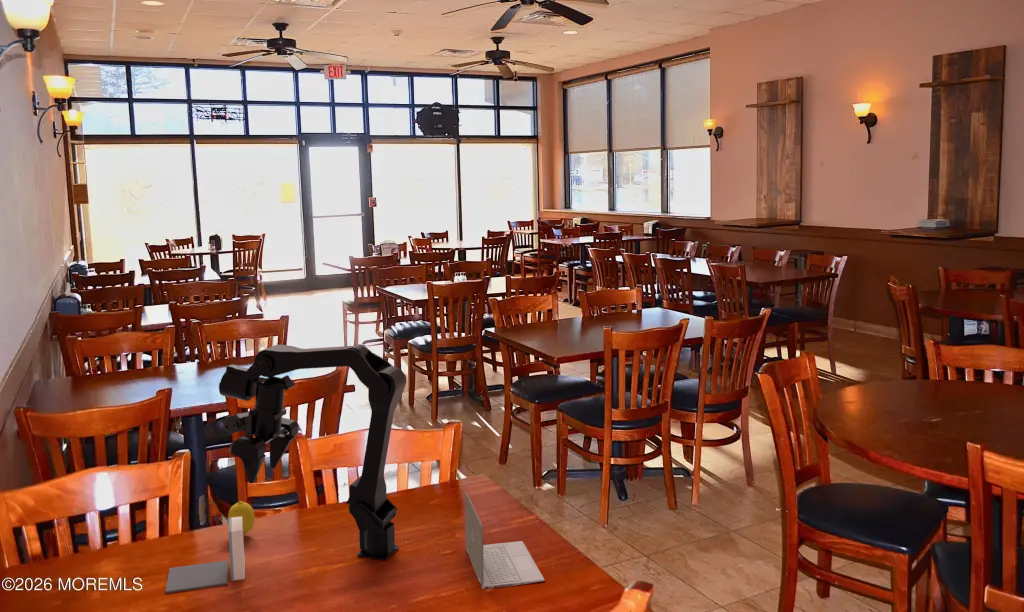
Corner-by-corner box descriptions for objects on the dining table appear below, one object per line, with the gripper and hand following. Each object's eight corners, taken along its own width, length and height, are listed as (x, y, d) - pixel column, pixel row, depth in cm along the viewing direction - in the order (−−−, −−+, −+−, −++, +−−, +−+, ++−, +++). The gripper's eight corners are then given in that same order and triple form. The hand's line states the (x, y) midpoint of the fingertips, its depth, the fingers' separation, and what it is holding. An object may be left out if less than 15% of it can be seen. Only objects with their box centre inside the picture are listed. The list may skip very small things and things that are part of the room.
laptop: (545, 583, 159) (545, 519, 157) (481, 591, 156) (480, 525, 154) (522, 544, 176) (522, 486, 174) (465, 550, 173) (464, 491, 171)
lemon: (260, 532, 181) (258, 498, 180) (244, 543, 176) (242, 507, 175) (239, 529, 183) (237, 495, 182) (223, 539, 178) (221, 504, 176)
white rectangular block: (244, 563, 167) (242, 516, 165) (244, 578, 160) (242, 530, 159) (231, 564, 166) (229, 518, 164) (231, 580, 159) (228, 531, 158)
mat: (228, 562, 167) (228, 560, 167) (227, 584, 158) (227, 582, 158) (169, 569, 164) (169, 568, 164) (165, 593, 154) (165, 591, 154)
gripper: (256, 386, 182) (250, 453, 185) (209, 409, 164) (203, 482, 167) (302, 396, 180) (295, 463, 183) (259, 420, 162) (252, 494, 165)
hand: (262, 474), depth 174 cm, fingers open, 9 cm apart
